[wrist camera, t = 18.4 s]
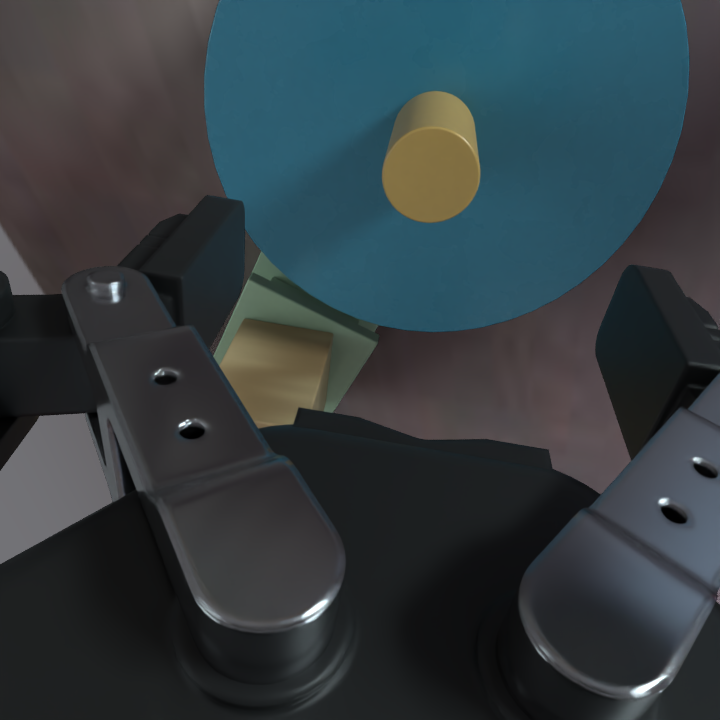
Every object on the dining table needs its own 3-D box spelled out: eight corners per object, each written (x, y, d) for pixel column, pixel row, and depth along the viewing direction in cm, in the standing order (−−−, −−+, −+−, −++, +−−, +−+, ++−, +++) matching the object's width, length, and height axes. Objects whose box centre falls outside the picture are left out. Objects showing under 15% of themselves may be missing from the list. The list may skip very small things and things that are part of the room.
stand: (387, 305, 32) (381, 342, 29) (330, 395, 36) (320, 435, 33) (265, 244, 31) (247, 276, 28) (220, 343, 35) (200, 380, 32)
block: (334, 332, 29) (306, 430, 24) (326, 402, 32) (299, 506, 26) (243, 317, 30) (194, 410, 24) (242, 388, 32) (198, 488, 26)
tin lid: (797, 18, 19) (906, 47, 14) (495, 376, 28) (504, 463, 23) (328, -310, 16) (280, -403, 12) (160, 206, 25) (96, 268, 21)
